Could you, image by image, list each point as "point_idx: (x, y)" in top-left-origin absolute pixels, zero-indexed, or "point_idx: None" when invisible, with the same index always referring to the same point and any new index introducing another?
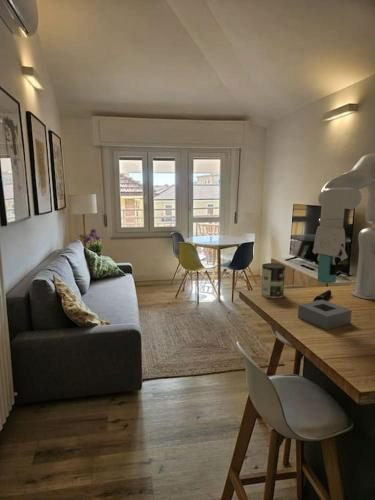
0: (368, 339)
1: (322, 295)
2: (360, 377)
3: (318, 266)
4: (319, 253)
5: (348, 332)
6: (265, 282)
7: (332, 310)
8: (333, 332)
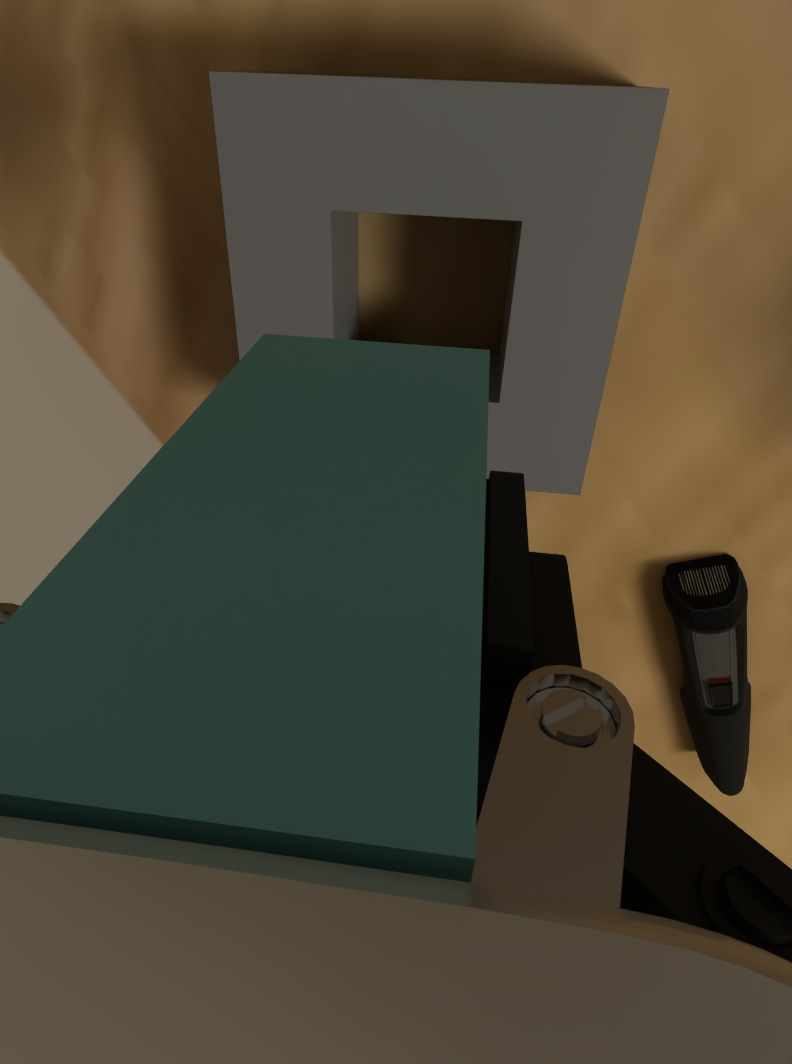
0: (9, 245)
1: (715, 676)
2: None
3: (526, 543)
4: (433, 887)
5: (153, 225)
6: None
7: (318, 304)
8: (194, 91)
